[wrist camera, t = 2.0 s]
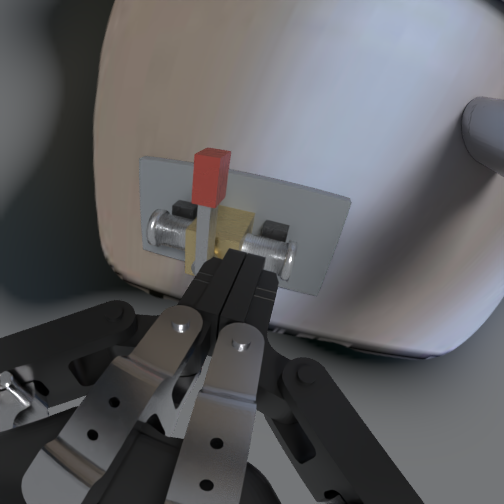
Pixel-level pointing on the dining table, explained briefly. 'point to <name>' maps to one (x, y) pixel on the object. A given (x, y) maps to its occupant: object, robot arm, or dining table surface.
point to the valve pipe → (223, 236)
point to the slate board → (265, 208)
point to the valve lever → (208, 199)
